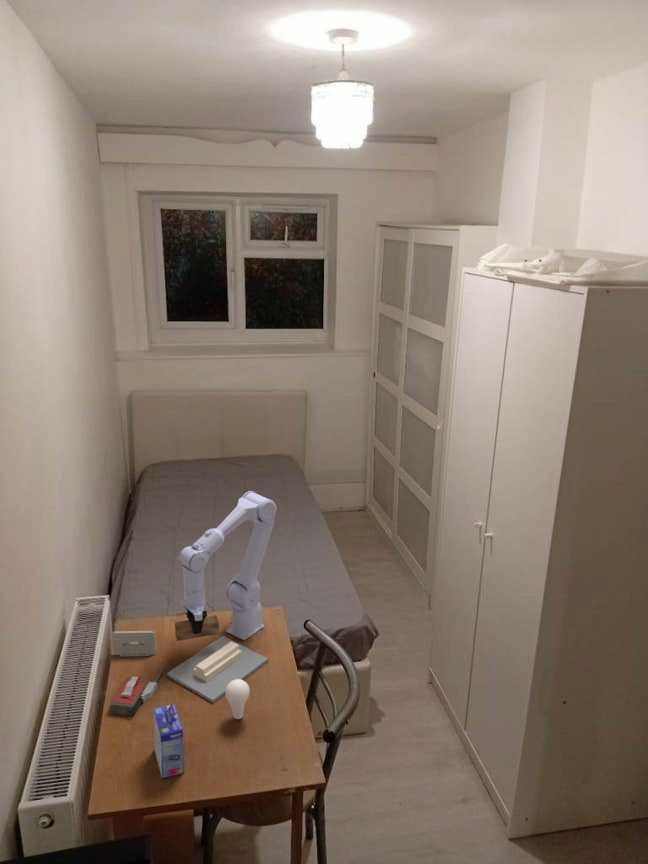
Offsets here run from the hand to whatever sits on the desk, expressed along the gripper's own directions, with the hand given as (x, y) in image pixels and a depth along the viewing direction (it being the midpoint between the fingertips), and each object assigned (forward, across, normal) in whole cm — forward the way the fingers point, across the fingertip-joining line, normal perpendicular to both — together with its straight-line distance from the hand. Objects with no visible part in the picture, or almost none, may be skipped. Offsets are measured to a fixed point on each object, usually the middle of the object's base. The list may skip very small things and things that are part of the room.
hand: (196, 628), depth 191 cm
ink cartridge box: (+9, +39, -12) cm, 42 cm away
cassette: (+9, -5, -17) cm, 20 cm away
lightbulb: (+9, +30, +6) cm, 32 cm away
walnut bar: (+2, 0, 0) cm, 2 cm away
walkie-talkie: (+9, +12, -17) cm, 23 cm away
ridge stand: (+8, +9, +5) cm, 13 cm away
